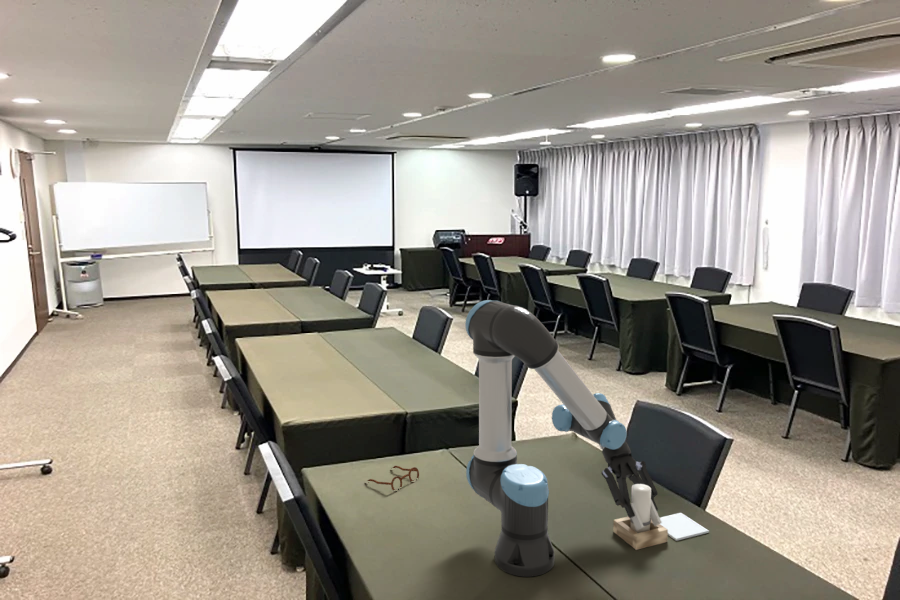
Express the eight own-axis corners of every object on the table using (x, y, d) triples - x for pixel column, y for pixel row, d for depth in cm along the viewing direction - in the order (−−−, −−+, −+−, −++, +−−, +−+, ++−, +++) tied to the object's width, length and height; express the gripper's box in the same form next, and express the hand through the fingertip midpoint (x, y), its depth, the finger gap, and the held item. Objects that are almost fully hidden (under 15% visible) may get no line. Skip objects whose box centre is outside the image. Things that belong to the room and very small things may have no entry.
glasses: (393, 495, 202) (393, 480, 201) (363, 484, 210) (363, 470, 209) (420, 480, 212) (419, 466, 211) (390, 470, 220) (390, 457, 219)
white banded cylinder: (637, 543, 170) (639, 494, 168) (625, 534, 175) (626, 485, 173) (654, 539, 172) (656, 490, 170) (641, 530, 177) (643, 482, 175)
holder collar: (636, 549, 168) (636, 537, 167) (613, 531, 177) (613, 519, 176) (667, 541, 171) (667, 529, 171) (643, 524, 180) (643, 512, 180)
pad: (676, 540, 172) (676, 538, 171) (649, 521, 182) (649, 519, 182) (708, 532, 175) (708, 530, 175) (680, 514, 186) (680, 512, 185)
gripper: (633, 446, 188) (669, 524, 176) (581, 456, 182) (614, 538, 169) (646, 435, 183) (684, 515, 170) (591, 444, 176) (627, 528, 164)
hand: (649, 526), depth 170 cm, fingers closed on white banded cylinder, 5 cm apart
